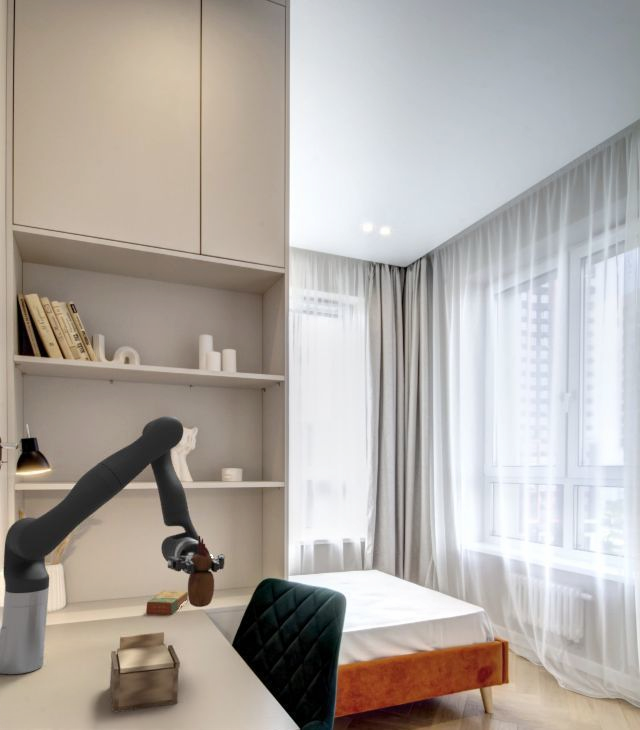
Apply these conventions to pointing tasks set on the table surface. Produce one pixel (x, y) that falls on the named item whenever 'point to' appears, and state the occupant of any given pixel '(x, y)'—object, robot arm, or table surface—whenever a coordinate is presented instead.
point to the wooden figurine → (201, 578)
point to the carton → (166, 603)
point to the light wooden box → (143, 685)
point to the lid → (143, 653)
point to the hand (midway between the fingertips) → (204, 567)
